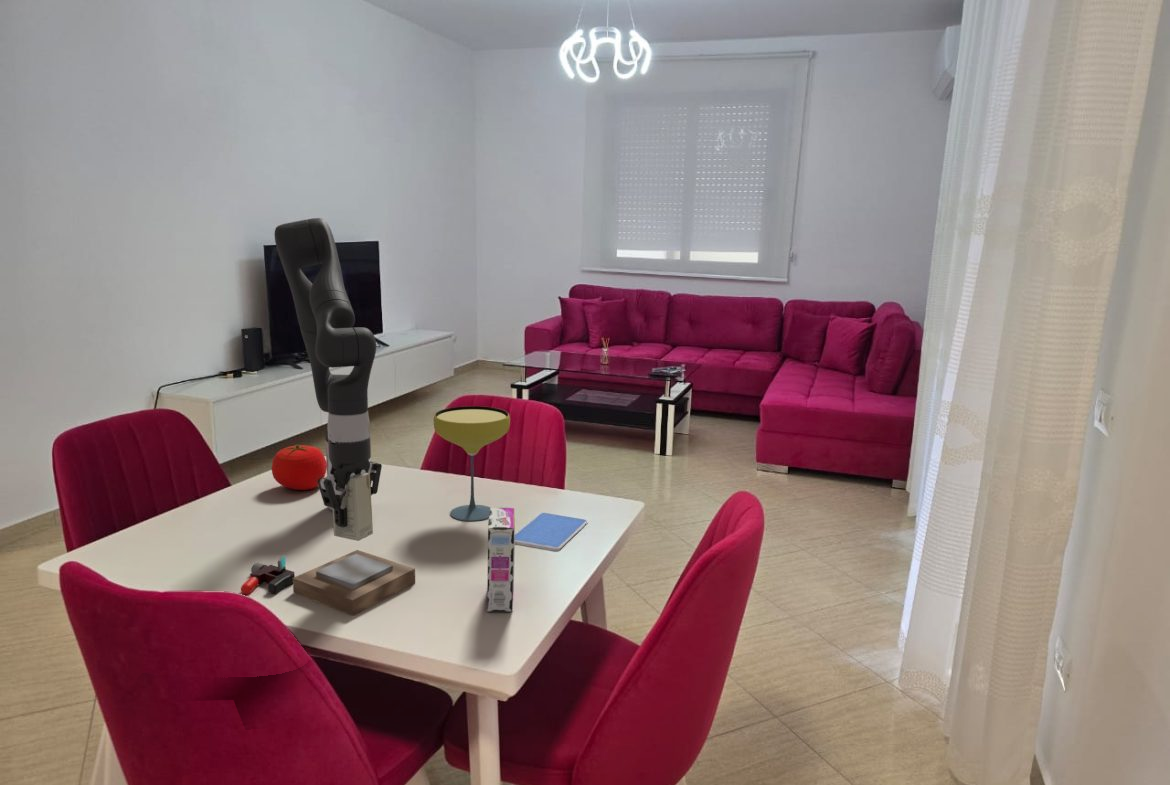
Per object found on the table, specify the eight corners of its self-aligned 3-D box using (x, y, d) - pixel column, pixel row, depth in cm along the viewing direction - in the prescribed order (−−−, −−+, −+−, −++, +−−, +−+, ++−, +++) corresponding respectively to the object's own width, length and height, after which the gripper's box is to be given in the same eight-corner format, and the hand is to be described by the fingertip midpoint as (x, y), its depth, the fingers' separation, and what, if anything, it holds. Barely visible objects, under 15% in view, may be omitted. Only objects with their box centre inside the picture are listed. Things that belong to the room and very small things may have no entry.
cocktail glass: (522, 518, 189) (523, 417, 184) (454, 532, 179) (453, 427, 174) (488, 496, 203) (488, 403, 198) (423, 508, 193) (421, 410, 188)
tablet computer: (541, 516, 192) (541, 511, 192) (589, 523, 188) (589, 518, 187) (506, 544, 174) (506, 539, 174) (558, 554, 170) (559, 548, 170)
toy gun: (259, 569, 158) (258, 547, 157) (302, 583, 153) (301, 560, 152) (218, 588, 149) (216, 565, 148) (262, 603, 144) (260, 579, 143)
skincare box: (373, 534, 149) (372, 473, 146) (358, 542, 145) (356, 479, 143) (347, 528, 152) (345, 468, 149) (331, 535, 148) (329, 474, 145)
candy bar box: (514, 612, 142) (514, 528, 139) (486, 613, 142) (486, 528, 138) (514, 585, 153) (515, 506, 150) (488, 585, 153) (488, 506, 149)
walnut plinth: (357, 563, 161) (357, 545, 160) (415, 582, 153) (415, 563, 152) (293, 592, 148) (292, 573, 147) (353, 615, 140) (352, 595, 139)
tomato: (337, 484, 210) (336, 442, 207) (300, 499, 198) (298, 455, 195) (301, 477, 215) (299, 436, 213) (262, 491, 203) (260, 448, 200)
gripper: (364, 424, 152) (366, 507, 156) (303, 440, 140) (308, 529, 144) (392, 430, 148) (394, 515, 152) (332, 446, 136) (336, 538, 140)
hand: (352, 521), depth 148 cm, fingers closed on skincare box, 4 cm apart
